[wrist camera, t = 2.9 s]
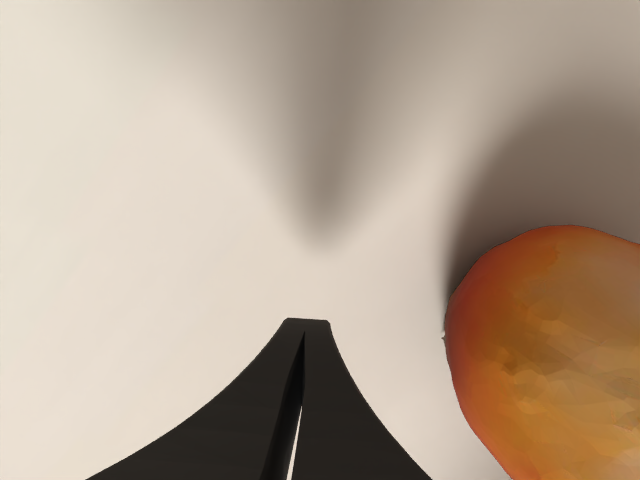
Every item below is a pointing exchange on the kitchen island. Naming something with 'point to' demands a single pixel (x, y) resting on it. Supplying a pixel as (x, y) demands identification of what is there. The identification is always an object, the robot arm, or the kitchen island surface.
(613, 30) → the kitchen island surface
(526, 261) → the fruit
